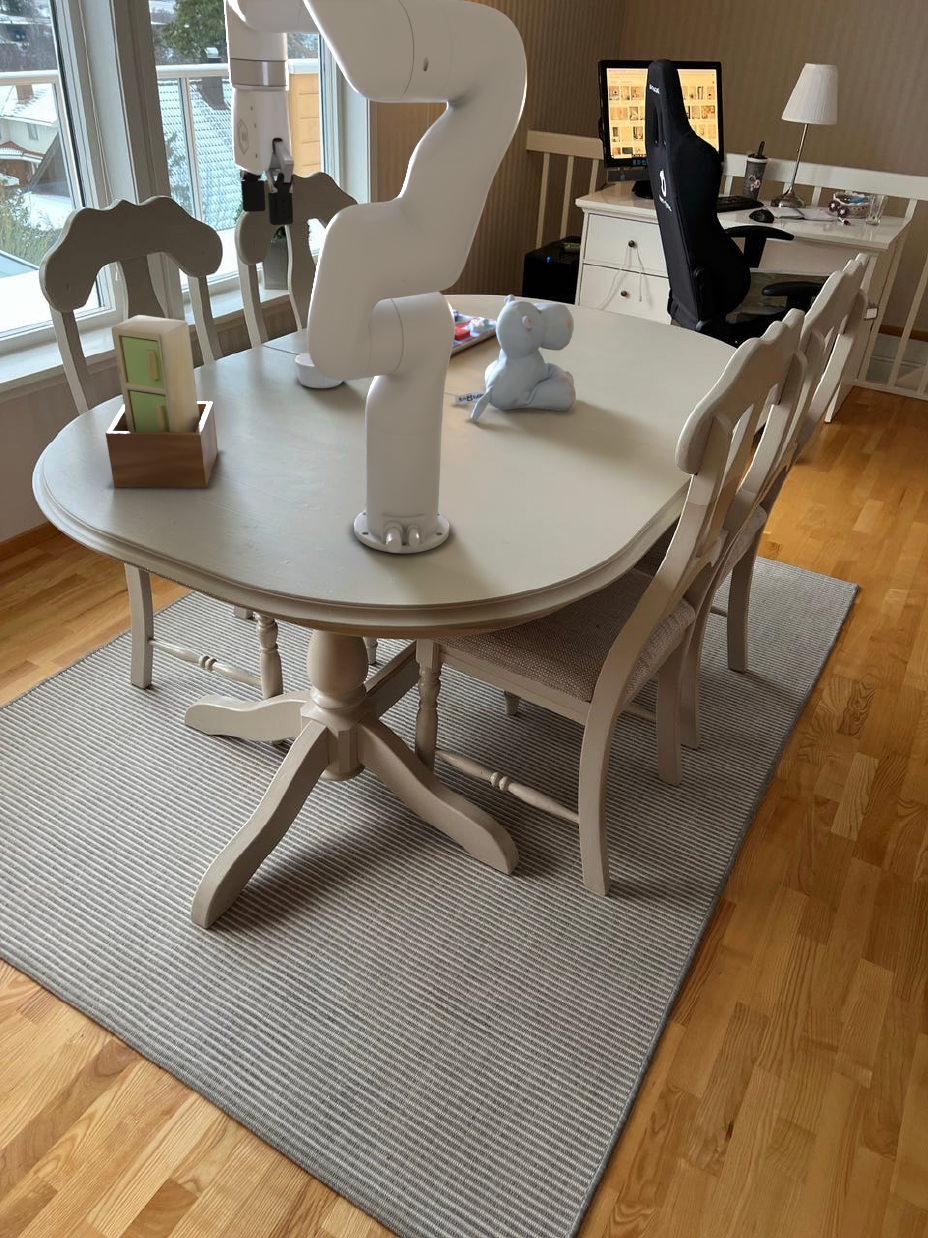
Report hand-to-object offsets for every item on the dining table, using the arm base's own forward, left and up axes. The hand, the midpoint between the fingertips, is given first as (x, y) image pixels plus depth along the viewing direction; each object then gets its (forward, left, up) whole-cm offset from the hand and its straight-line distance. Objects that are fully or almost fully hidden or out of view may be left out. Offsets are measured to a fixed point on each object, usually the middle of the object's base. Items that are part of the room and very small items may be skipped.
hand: (267, 217), depth 130 cm
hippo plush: (+17, -40, -33) cm, 55 cm away
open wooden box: (-12, +15, -33) cm, 38 cm away
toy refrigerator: (-12, +15, -33) cm, 38 cm away
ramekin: (+27, -5, -33) cm, 43 cm away
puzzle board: (+57, -26, -33) cm, 71 cm away
